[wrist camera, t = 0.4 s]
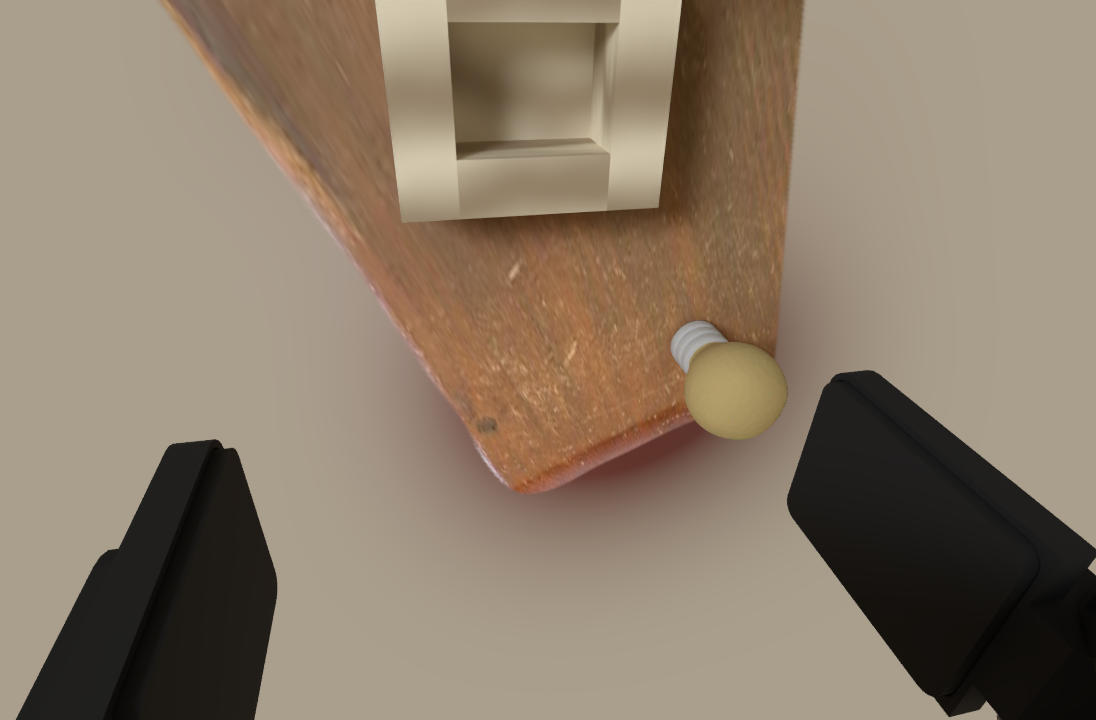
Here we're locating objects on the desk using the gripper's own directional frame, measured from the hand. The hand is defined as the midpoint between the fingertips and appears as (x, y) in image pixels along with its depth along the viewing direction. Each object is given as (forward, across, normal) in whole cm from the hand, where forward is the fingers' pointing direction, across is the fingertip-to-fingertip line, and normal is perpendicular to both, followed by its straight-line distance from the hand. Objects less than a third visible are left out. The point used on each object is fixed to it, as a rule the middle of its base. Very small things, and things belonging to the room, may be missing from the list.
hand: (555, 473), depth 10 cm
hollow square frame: (+29, -4, -2) cm, 29 cm away
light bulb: (+29, -18, +16) cm, 37 cm away
